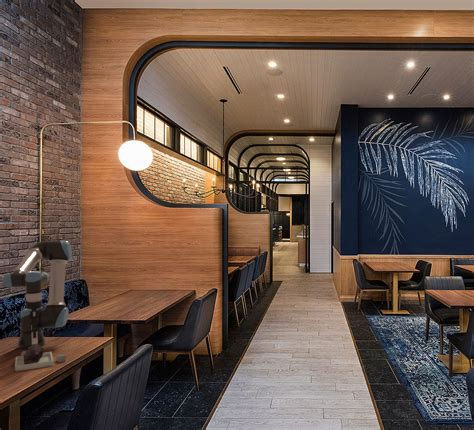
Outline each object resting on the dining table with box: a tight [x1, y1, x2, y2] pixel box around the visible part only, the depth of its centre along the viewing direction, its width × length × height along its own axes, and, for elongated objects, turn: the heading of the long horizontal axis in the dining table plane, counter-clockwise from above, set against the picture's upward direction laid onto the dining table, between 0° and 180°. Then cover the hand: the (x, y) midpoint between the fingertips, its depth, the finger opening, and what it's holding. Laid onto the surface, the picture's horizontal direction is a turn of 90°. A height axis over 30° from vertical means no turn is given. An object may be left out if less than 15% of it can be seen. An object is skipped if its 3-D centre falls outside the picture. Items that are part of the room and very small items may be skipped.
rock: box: [24, 344, 44, 365], centre depth 219 cm, size 12×9×10 cm
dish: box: [14, 351, 54, 372], centre depth 220 cm, size 18×18×2 cm
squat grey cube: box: [55, 353, 67, 363], centre depth 224 cm, size 4×4×3 cm
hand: (34, 340), depth 221 cm, fingers open, 13 cm apart
